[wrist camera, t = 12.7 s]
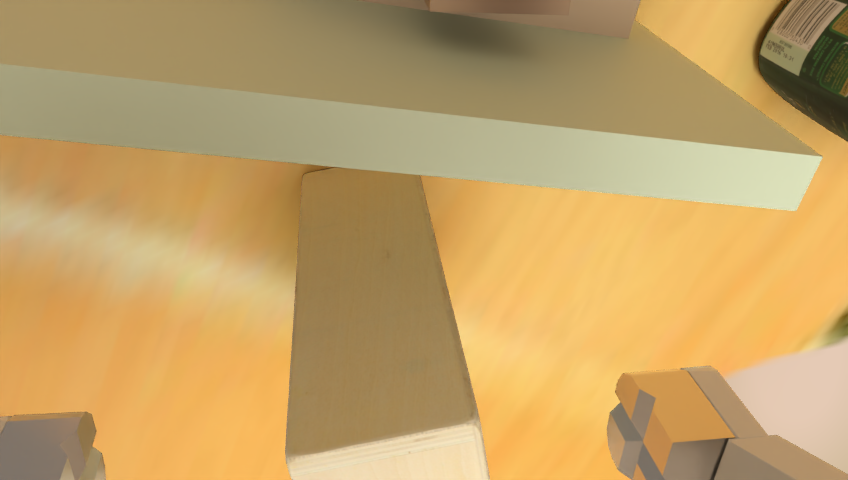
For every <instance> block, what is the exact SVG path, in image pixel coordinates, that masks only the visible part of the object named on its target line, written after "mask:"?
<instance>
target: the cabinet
mask: <svg viewBox="0 0 848 480" xmlns="http://www.w3.org/2000/svg"><path fill="white" fill-rule="evenodd" d="M424 1H425V3H426V5H427V7H428V9H429V11H430V12H464V13H499V14H535V15H569V9H570V3H571V0H424Z"/></svg>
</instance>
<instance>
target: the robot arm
mask: <svg viewBox="0 0 848 480" xmlns="http://www.w3.org/2000/svg"><path fill="white" fill-rule="evenodd" d="M615 393H616V395H617V396H618V398H619V400H620V403H619V404H618V405H617V406H616V407H615V408H614V409H613V410H612V411H611V412H610V415H609V420H608V425H607V436H608V446H609V449H610V453H611V456H612V459H613V461H614V463H615V465H616V467H617V469H618V470H619V471H620V472H621V473H623V474H624V475H626V476H627V477H629V478H630V479H631V480H848V474H846V473H845V472H843V471H841V470H839V469H837V468H836V467H834V466H832V465H830V464H828V463H826V462H825V461H822V460H821V459H819V458H817V457H816V456H814V455H812V454H810V453H808V452H807V451H805V450H803V449H801V448H799V447H798V446H796V445H794V444H792V443H790V442H789V441H787V440H785V439H783V438H781V437H780V436H778V435H770V436H768V435H767V433H766V432H765V431H764V430H763V428H762V427H761V426H760V424H759V423H758V422H757V421H756V420H755V418H754V417H753V415H752V414H751V413H750V412H749V411H748V409H747V408H746V407H745V405H744V404H743V403H742V401H741V400H740V399H739V398H738V396H737V395H736V394H735V392H734V391H733V390H732V389H731V387H730V386H729V385H728V383H727V382H726V381H725V380H724V378H723V377H722V376H721V374H720V373H719V372H718V371H717V370H716V369H715V368H713V367H711V366H701V367H689V368H681V369H670V370H657V371H645V372H632V373H623V374H622V375H621V377H620V378H619V380H618V383H617V386H616V390H615ZM95 434H96V428H95V424H94V421H93V417H92V414H90V413H88V412H68V413H47V414H27V415H14V416H2V417H0V480H106V476H105V465H104V461H103V456H102V453H101V452H99V451H98V450H97V449H95V448H94V447H93V446H92V444H93V441H94V438H95Z"/></svg>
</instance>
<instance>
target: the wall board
mask: <svg viewBox="0 0 848 480" xmlns="http://www.w3.org/2000/svg"><path fill="white" fill-rule="evenodd" d="M639 3H640V0H571V3H570V9H569V15H535V14H499V13H464V12H430V11H429V9H428V7H427V5H426V3H425V1H424V0H0V135H6V136H16V137H27V138H37V139H48V140H58V141H68V142H79V143H89V144H100V145H110V146H121V147H131V148H142V149H152V150H163V151H173V152H184V153H194V154H204V155H215V156H225V157H236V158H246V159H257V160H267V161H278V162H288V163H299V164H309V165H320V166H330V167H341V168H351V169H361V170H372V171H382V172H393V173H403V174H414V175H424V176H435V177H445V178H456V179H466V180H477V181H487V182H497V183H508V184H518V185H529V186H539V187H550V188H560V189H571V190H581V191H592V192H602V193H613V194H623V195H633V196H644V197H654V198H665V199H675V200H686V201H696V202H707V203H717V204H728V205H738V206H749V207H759V208H770V209H780V210H790V211H796V210H797V208H798V206H799V204H800V202H801V200H802V198H803V196H804V194H805V192H806V190H807V188H808V186H809V184H810V182H811V180H812V178H813V176H814V174H815V172H816V170H817V168H818V166H819V164H820V162H821V160H822V158H823V157H822V156H821V155H820V154H818V153H817V152H816V151H814V150H813V149H811V148H810V147H809V146H807V145H806V144H805V143H803V142H802V141H800V140H799V139H798V138H796V137H795V136H794V135H792V134H791V133H789V132H788V131H787V130H785V129H784V128H783V127H781V126H780V125H779V124H777V123H776V122H774V121H773V120H772V119H770V118H769V117H768V116H766V115H765V114H763V113H762V112H761V111H759V110H758V109H757V108H755V107H754V106H752V105H751V104H750V103H748V102H747V101H746V100H744V99H743V98H741V97H740V96H739V95H737V94H736V93H735V92H733V91H732V90H730V89H729V88H728V87H726V86H725V85H724V84H722V83H721V82H719V81H718V80H717V79H715V78H714V77H713V76H711V75H710V74H708V73H707V72H706V71H704V70H703V69H702V68H700V67H699V66H698V65H696V64H695V63H693V62H692V61H691V60H689V59H688V58H687V57H685V56H684V55H682V54H681V53H680V52H678V51H677V50H676V49H674V48H673V47H671V46H670V45H669V44H667V43H666V42H665V41H663V40H662V39H660V38H659V37H658V36H656V35H655V34H654V33H652V32H651V31H649V30H648V29H647V28H645V27H644V26H643V25H641V24H640V23H638V22H637V21H636V20H634V19H635V16H636V13H637V10H638V6H639Z"/></svg>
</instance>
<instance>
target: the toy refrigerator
mask: <svg viewBox="0 0 848 480" xmlns="http://www.w3.org/2000/svg"><path fill="white" fill-rule="evenodd" d="M285 455H286V464H287V467H288V470H289V474H290V476H291V479H292V480H490V476H489V470H488V464H487V458H486V452H485V446H484V440H483V435H482V429H481V423H480V418H479V414H478V409H477V404H476V401H475V397H474V393H473V389H472V385H471V380H470V376H469V372H468V368H467V364H466V360H465V356H464V352H463V348H462V344H461V340H460V336H459V332H458V328H457V324H456V320H455V316H454V312H453V308H452V304H451V300H450V296H449V292H448V288H447V284H446V280H445V275H444V271H443V267H442V263H441V259H440V255H439V251H438V247H437V243H436V238H435V234H434V230H433V226H432V222H431V218H430V214H429V210H428V206H427V202H426V198H425V193H424V189H423V185H422V181H421V177H420V175H414V174H403V173H393V172H382V171H372V170H361V169H351V168H341V167H335V168H330V169H325V170H320V171H315V172H310V173H305V174H304V175H303V177H302V187H301V202H300V218H299V235H298V251H297V270H296V287H295V304H294V320H293V335H292V351H291V365H290V381H289V399H288V413H287V429H286V446H285Z"/></svg>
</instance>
